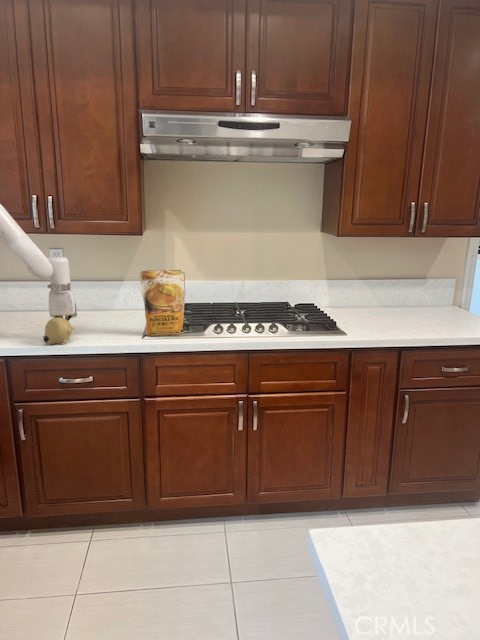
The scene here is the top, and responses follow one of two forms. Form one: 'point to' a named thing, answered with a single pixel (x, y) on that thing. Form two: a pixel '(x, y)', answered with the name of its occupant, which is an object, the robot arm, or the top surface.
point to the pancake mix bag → (163, 301)
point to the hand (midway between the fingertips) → (65, 330)
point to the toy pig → (57, 331)
